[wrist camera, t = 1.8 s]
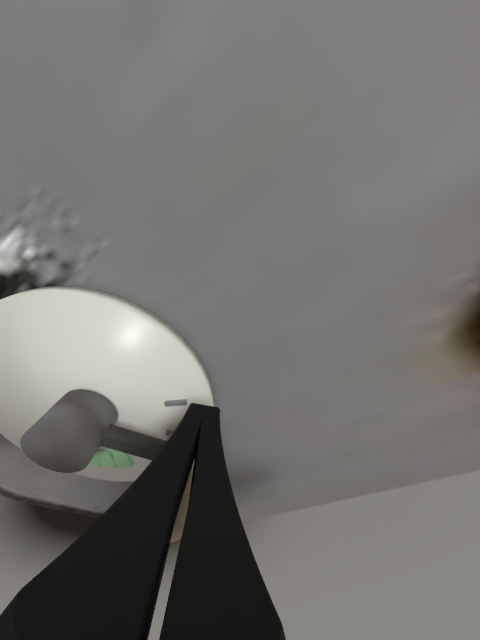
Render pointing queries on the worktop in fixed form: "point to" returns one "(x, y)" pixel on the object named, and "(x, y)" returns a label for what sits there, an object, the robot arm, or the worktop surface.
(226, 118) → the worktop surface
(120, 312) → the dial plate
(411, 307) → the worktop surface
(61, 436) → the crank handle
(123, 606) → the robot arm
